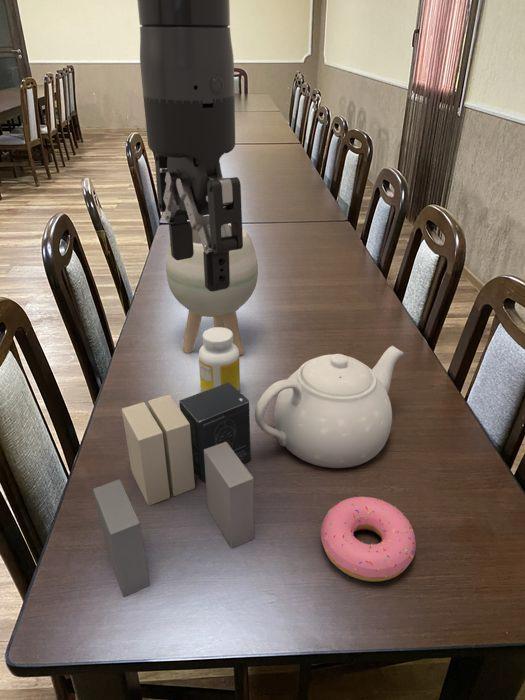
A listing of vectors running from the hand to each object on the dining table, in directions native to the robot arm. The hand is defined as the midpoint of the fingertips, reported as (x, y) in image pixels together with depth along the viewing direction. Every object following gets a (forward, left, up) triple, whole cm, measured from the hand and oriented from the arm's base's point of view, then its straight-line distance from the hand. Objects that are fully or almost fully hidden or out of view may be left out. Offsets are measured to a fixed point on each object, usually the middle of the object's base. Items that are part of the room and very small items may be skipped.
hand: (199, 272), depth 53 cm
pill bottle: (+11, +21, -32) cm, 40 cm away
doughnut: (+13, -15, -32) cm, 38 cm away
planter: (+17, +36, -32) cm, 51 cm away
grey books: (-6, -4, -32) cm, 33 cm away
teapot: (+21, +4, -32) cm, 39 cm away
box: (+4, +7, -32) cm, 33 cm away
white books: (-4, +7, -32) cm, 33 cm away
